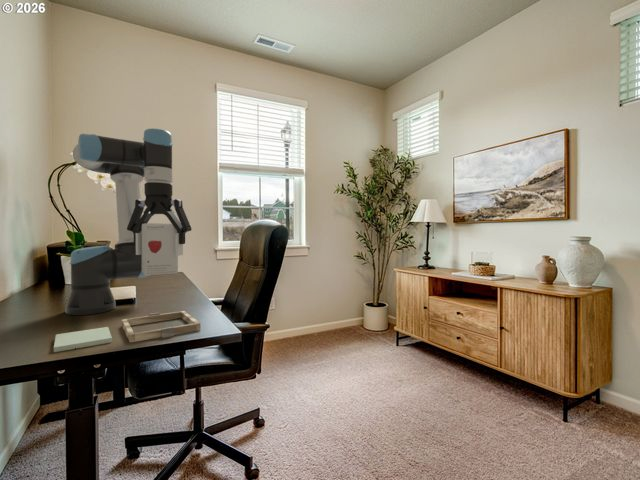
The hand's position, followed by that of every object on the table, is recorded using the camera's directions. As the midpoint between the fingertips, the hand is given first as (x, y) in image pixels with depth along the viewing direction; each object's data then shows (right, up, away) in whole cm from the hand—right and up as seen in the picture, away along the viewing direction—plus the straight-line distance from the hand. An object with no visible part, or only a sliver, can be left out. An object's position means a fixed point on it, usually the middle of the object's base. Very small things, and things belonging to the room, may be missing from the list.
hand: (159, 254), depth 99 cm
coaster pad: (-15, -23, -11) cm, 29 cm away
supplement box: (0, -6, 0) cm, 6 cm away
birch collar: (0, -22, +1) cm, 22 cm away
